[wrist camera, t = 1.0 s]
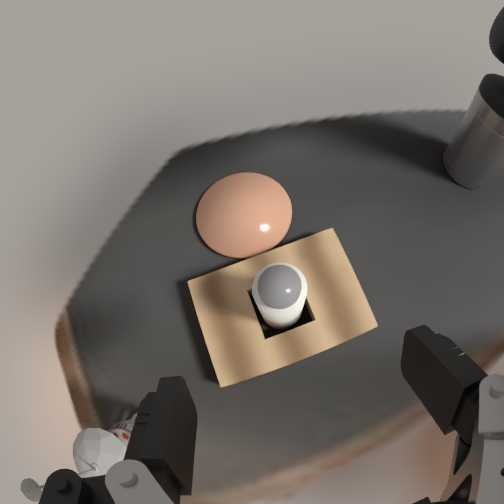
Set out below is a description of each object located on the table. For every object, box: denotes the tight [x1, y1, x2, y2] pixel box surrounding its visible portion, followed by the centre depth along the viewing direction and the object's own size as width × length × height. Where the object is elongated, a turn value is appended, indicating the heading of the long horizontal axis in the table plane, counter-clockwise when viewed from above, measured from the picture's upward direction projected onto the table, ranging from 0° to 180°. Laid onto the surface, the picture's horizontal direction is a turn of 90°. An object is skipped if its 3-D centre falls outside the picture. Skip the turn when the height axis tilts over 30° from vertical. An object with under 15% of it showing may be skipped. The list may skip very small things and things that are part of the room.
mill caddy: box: [187, 228, 378, 387], centre depth 37 cm, size 20×14×3 cm
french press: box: [21, 413, 137, 502], centre depth 21 cm, size 10×12×25 cm
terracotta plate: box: [196, 173, 292, 259], centre depth 43 cm, size 14×14×1 cm
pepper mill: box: [252, 262, 308, 330], centre depth 32 cm, size 5×5×12 cm
